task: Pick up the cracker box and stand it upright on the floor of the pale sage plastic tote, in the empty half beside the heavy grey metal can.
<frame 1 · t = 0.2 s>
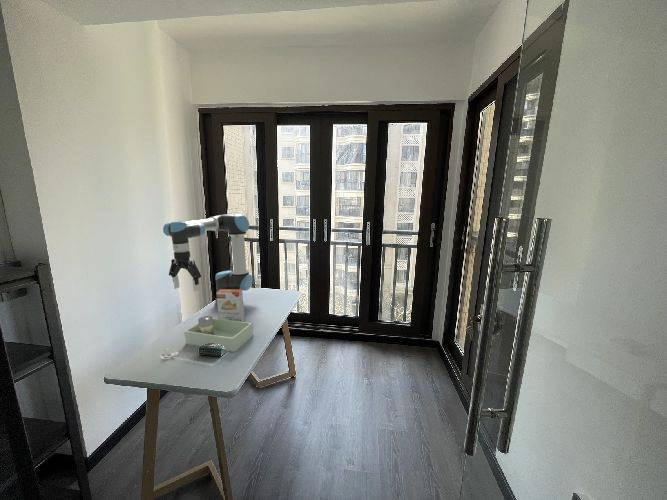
hand: (186, 289, 150), 28 cm above the table, fingers open, 13 cm apart
cracker box: (232, 322, 171), on the table
can: (207, 337, 153), point 1 cm above the table, touching tote
tote: (220, 340, 150), on the table
white curved piece: (167, 359, 134), on the table
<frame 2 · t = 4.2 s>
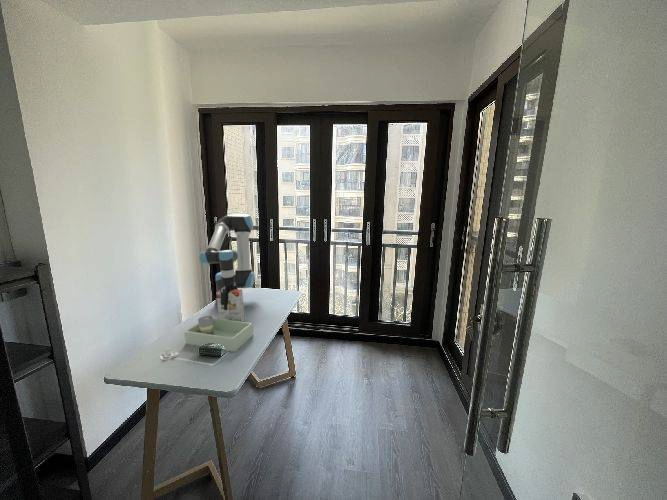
hand: (231, 311, 170), 7 cm above the table, fingers closed on cracker box, 7 cm apart
cracker box: (232, 322, 171), on the table, touching gripper
everything else where it was.
when the fingers open (9 cm above the table, at t = 9.7 s): cracker box drops 1 cm, resting on tote.
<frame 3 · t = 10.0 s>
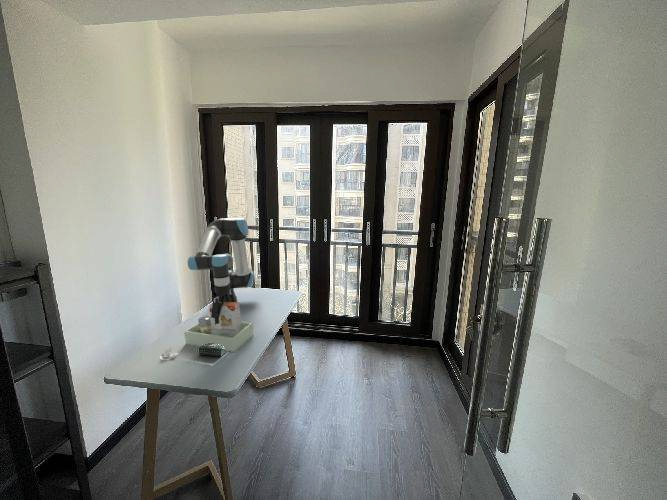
hand: (225, 323, 147), 10 cm above the table, fingers open, 10 cm apart
cracker box: (227, 340, 149), resting on tote
everything else where it was.
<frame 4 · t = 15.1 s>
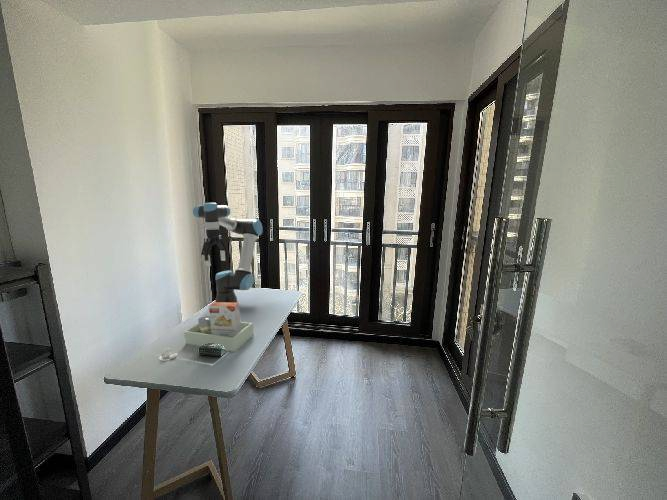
hand: (216, 263, 170), 37 cm above the table, fingers open, 13 cm apart
at the end: cracker box inside the target area on the tote (0.3 cm from its centre), point 0.4 cm above the tote's base; cracker box tilted 0°; can moved 0.1 cm from its start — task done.
